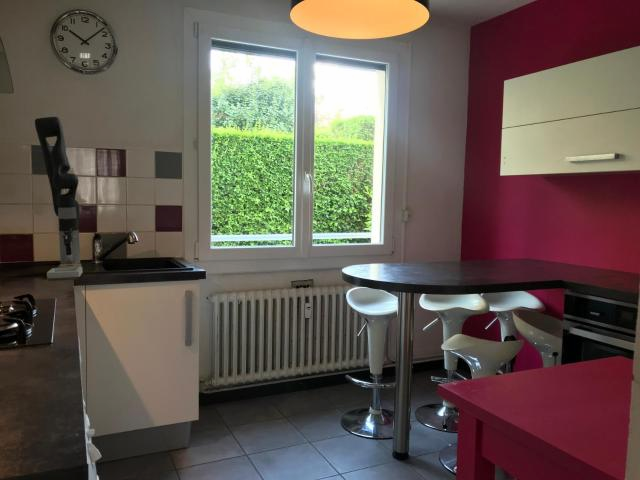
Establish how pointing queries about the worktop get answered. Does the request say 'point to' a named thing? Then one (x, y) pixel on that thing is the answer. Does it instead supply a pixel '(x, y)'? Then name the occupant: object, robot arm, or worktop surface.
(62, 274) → the tray
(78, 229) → the robot arm
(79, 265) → the pin block
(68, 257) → the pin
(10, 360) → the worktop surface
